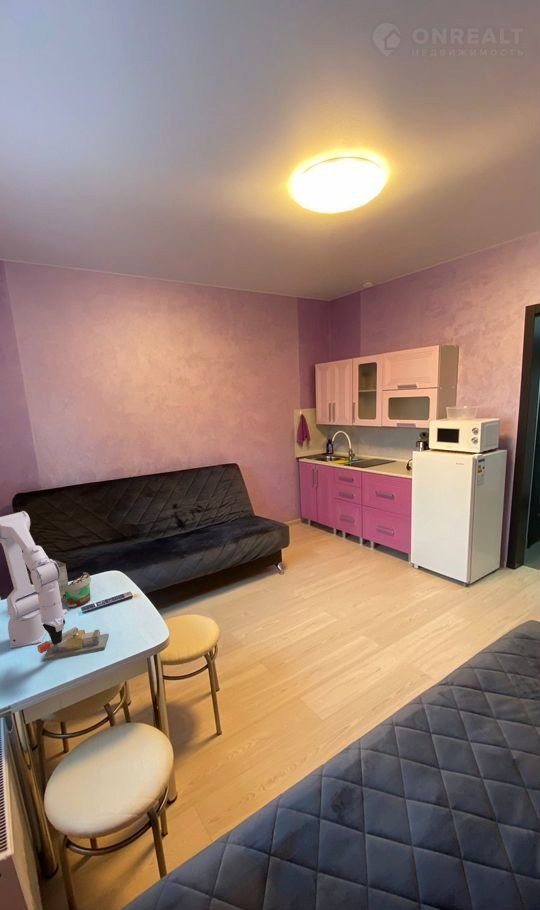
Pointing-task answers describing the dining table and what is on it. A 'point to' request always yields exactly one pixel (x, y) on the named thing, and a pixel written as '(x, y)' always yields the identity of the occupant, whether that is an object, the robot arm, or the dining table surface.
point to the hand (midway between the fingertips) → (57, 643)
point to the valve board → (77, 650)
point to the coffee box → (62, 580)
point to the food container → (78, 591)
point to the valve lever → (49, 644)
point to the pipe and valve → (78, 641)
